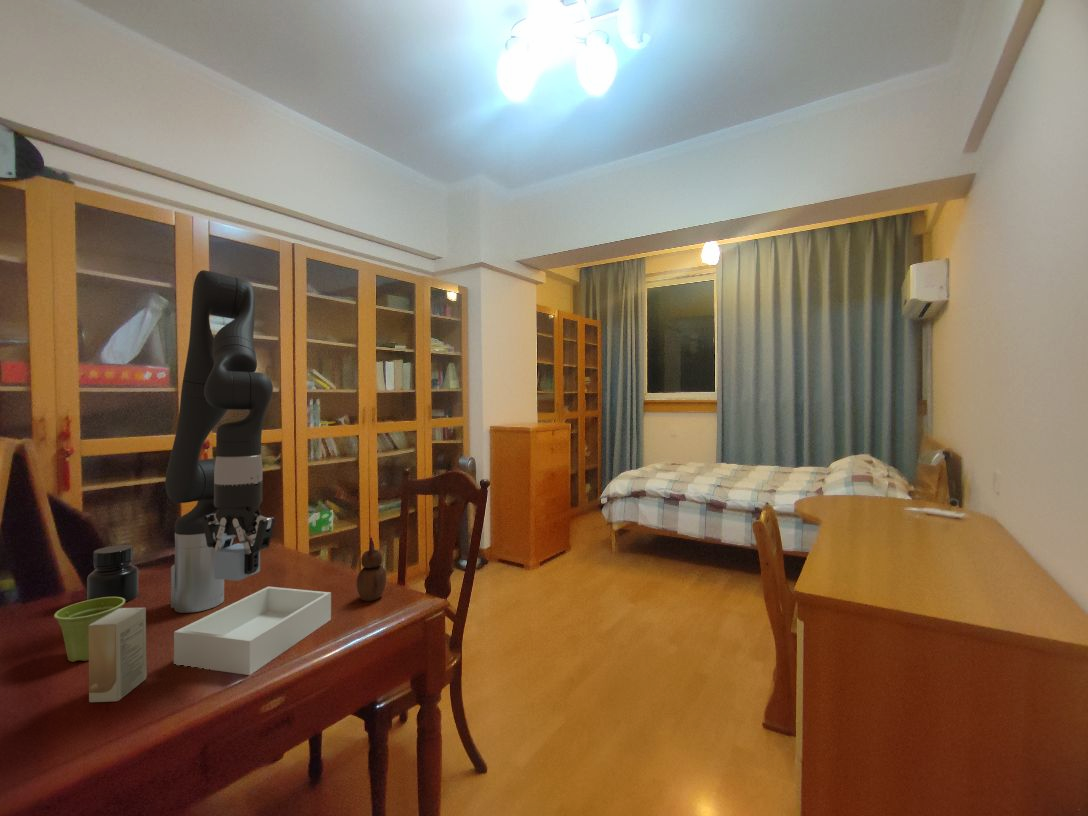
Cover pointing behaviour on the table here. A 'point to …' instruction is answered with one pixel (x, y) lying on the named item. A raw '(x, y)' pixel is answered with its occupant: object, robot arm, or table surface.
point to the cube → (231, 563)
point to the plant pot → (83, 623)
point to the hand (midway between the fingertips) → (237, 571)
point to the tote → (252, 630)
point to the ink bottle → (113, 574)
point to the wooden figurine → (371, 575)
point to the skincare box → (117, 654)
